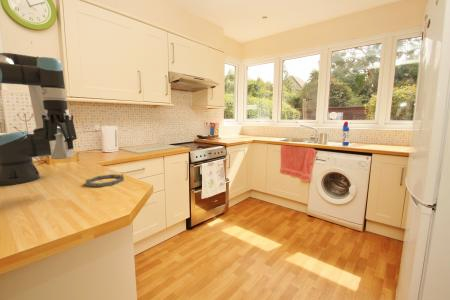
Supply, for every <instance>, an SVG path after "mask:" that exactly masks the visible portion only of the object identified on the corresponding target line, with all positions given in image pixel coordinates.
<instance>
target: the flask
mask: <svg viewBox="0 0 450 300" xmlns="http://www.w3.org/2000/svg"><path fill="white" fill-rule="evenodd" d="M54 135H55V136H56V144H55V148H54V151H53V154H52V155H51V157H50V159H52V160H64V159H65V160H66V159H67V158H66V153H65V145H64V140H65V138H64V136H63V134H54ZM68 159H72V157H69V158H68Z"/></svg>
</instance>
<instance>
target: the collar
mask: <svg viewBox="0 0 450 300" xmlns="http://www.w3.org/2000/svg"><path fill="white" fill-rule="evenodd" d="M111 177H112V178H115V179H114V180H112V181H111V180H110V181H107V182H106V181H105V182H100V183H99V182H95V181H99V180H103V179H111ZM123 181H125V178H124V173H122V174H121V173H120V174H112V173H111V174H105V175H98V176H95V177H91V178H86V179H85V187H92V188H93V187H94V188H100V187H102V188H103V187H107V186H113V185H117V184H119V183H122V182H123Z"/></svg>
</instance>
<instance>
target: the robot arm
mask: <svg viewBox="0 0 450 300" xmlns="http://www.w3.org/2000/svg"><path fill="white" fill-rule="evenodd" d="M0 84H5V85H8V84H9V85H24V86H28V87H27V88H28V92H29V97H30V103H31V106H32V112H33V116H34V122H35V126H36V127H35V128H34V129H32V132H33V133H29V132H28V131H18V132H17V131H16V132H10V133H4V134H0V186H10V185H11V186H12V185H18V184H24V183H29V182H33V181H36V180H39V179H40V177H41V176H40V172H39V170H38V169H37V167H36V166H35V164H34V162H33V158H39V157H47V156H48V157H49V156H52V154H53V151H54V148H55V144H56V136H55V135H54V134H63V136H64V138H65V140H64V145H65V153H66V159H70V158H69V157H71V158H74V157H75V154H74V140H75V141H76V140H77V139H78V137H77V133H76V129H75V125H74V115H73V114H68V113H67V111H68V110H69V109H68V108H69V107H68V102H67V99H68V98H67V91H66V84H65V79H64V68H63V64H62V61H61V60H60V59H57V58H54V57H49V56H48V57H47V56H41V57H40V56H33V55H27V54H26V55H25V54H19V53H12V52H0Z"/></svg>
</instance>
